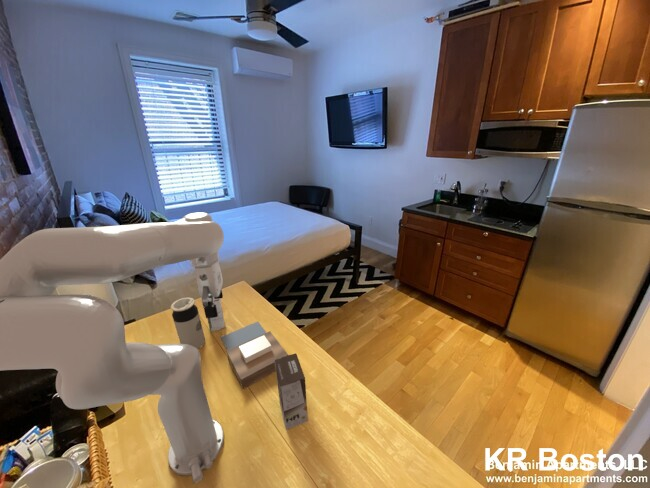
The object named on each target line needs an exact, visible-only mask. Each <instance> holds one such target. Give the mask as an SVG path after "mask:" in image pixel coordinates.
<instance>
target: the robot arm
mask: <svg viewBox="0 0 650 488" xmlns="http://www.w3.org/2000/svg"><path fill="white" fill-rule="evenodd" d="M223 230H224V229H223V228H222V226H221V225H220V224H218V222H216V221H213V218H212V216H211V215H210V214H209V213H207V212H202V211H201V212H199V211H197V212H191V213H188V214H185V215H184V216H182V218H181V219H178V220H175V221H172V222H145V223H144V222H143V223H131V224H121V225H120V224H119V225H106V226H86V227H84V226H83V227H61V228H60V227H57V228H56V227H55V228H54V227H53V228H43V229H39V230H36V231H35V232H33V233H31V234H29V235H27V236H25V237H24V238H22V239H21V240H20V241H19V242H18V243H16V244H15V245H14V246H13V247H12V248H11V249H9V251H8V252H6V254H4V256H2V257H1V258H0V371H16V370H41V369H54V370H56V371H57V374H56V378H55V389H56V392H57V395H58V397H59V398H60V399H61V400H62V402H63V404H64V405H65V406H66V407H67V408H69V409H73V410H86V409H87V410H88V409H91V408H96V407H103V406H110V405H114V404H119V403H120V404H121V403H125V402H126V403H127V402H133V401H136V400H139V399H143V398H145V397H147V396H151V395H153V396H154V395H156V396H159V400H158V402H157V413H158V416H159V419H160V421H161V423H162V426H163V428H164V430H165V433H166V436H167V438H168V441H169V443H170V445H169V450H168V453H167V454H168V455H167V460H168V465H169V467H170V468H171V470H172V471H173V472H174V473H175V474H178V475H180V476H192V480H193V483H195V484H196V483H199V482H200V481H202V479H203V478H204V473H203V470H205V469H206V470H208V469H210V468H211V467H212V466H213V462H214V460H215V459H216V458H217V456H218V455H219V453H220V452H221V450H222V448H223V444H224V436H225V435H224V429H223V427H222V425H221V423H220V422H218V420H215V419H213V416H212V412H211V409H210V405H209V401H208V397H207V394H206V391H205V386H204V381H203V376H202V356H201V353H200V351H199V349H197V348H195V347H194V346H191V345H188V344H180V343H164V344H163V343H162V344H160V343H159V344H152V343H147V342H133V341H131V342H126V329H125V323H124V322H125V321H124V318H123V315H122V314H121V313H120V311H119V310H118V309H117V307H116V306H115V305H113V304H112V303H111V302H110V301H107V300H105V299H103V298H100V297H97V296H94V295H87V294H54V292H55V291H56V289H57V288H58V286H75V285H77V286H78V285H84V286H85V285H102V284H110V283H115V282H118V281H119V282H120V281H123V280H125V279H127V278H130V277H134V276H136V275H139V274H141V273H144V272H146V271H151V270H152V269H156V268H157V267H162V266H167V265H169V266H170V265H174V264H178V263H181V262H182V263H183V262H186V261H187V262H188V261H190V266H192V267H194V271H195V279H196V284H197V289H198V293H199V297H200V298H201V303H202V306H203V310H204V315H205V318H206V319H207V318H214V317H217V316H218V313H217V308H216V305H214V299H219V298H220V299H223V296H224V294H223V290H222V288H223V284H224V280H223V275H222V270H221V266H220V263H219V261H220V255H219V250H220V249H221V248H222V247H223V244H224V239H225V235H224V231H223ZM208 294H211V296H208ZM208 298H211V302H210V301H209V300H208Z"/></svg>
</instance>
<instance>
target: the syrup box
mask: <svg viewBox="0 0 650 488" xmlns="http://www.w3.org/2000/svg"><path fill="white" fill-rule="evenodd" d="M208 296H211V294H208ZM208 300H209V301H210V302H211V298H208ZM214 305H216V308H217V313H218V316H217V317H214V318H206V319H207V323H208V328H209V332H215V331H218V330H222V329H224V328H226V323H225V318H224V311H223V306H222V301H221V298H219V299H214Z"/></svg>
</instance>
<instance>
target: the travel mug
mask: <svg viewBox="0 0 650 488" xmlns="http://www.w3.org/2000/svg"><path fill="white" fill-rule="evenodd" d="M195 302H196V300H195V299H194V298H192V297H182V298H179V299H177V300H175V301H173V303H172V304H171V305H170V309H171V310H172V314H171V316H172V320H173V323H174V326H175V330H176V333H177V337H178V340H179V344H188V345H191V346H194V347H195V348H197V349H198V350H199V349H201V348H202V347H203V345H204V344H206V337H205V333H204V329H203V325H202V321H201V317H200V313H199V308H198V306H197V305H196V303H195Z"/></svg>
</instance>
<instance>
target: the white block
mask: <svg viewBox="0 0 650 488" xmlns="http://www.w3.org/2000/svg"><path fill="white" fill-rule="evenodd" d="M239 350H240V353H241V355H242V357H243V358H244V360H245V362H246V363H248V362H250V361H252V360H254V359H256V358H258V357H260V356H262V355H264V354H266V353H268V352H270V351H272V346H271V344H270V343H269V341H268V340H267V339H266V337H265V336H264V335H263V336H261V337H259V338H257V339H254V340H252V341H250V342H248V343H246V344H243V345H241V346H239Z"/></svg>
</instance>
